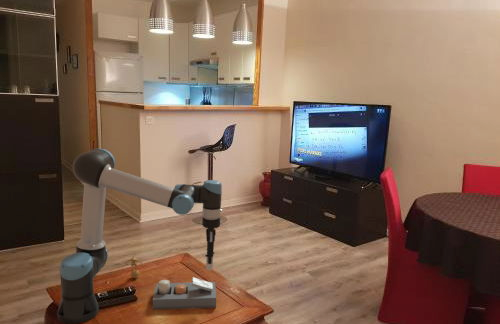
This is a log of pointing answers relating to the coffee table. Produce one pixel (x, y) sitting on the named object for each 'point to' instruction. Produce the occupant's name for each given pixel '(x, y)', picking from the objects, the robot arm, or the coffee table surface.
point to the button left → (164, 287)
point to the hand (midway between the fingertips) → (209, 269)
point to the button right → (180, 289)
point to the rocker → (202, 284)
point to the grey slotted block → (184, 298)
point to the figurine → (135, 272)
